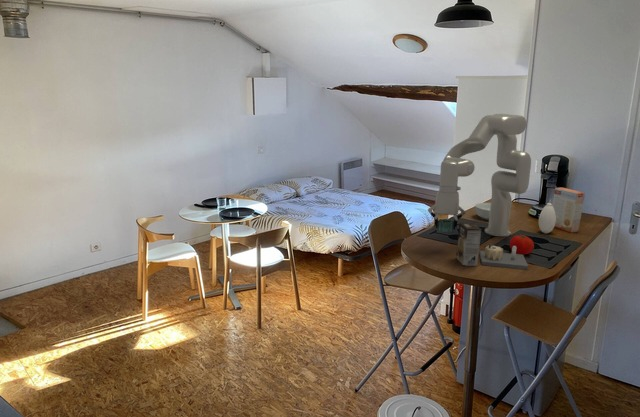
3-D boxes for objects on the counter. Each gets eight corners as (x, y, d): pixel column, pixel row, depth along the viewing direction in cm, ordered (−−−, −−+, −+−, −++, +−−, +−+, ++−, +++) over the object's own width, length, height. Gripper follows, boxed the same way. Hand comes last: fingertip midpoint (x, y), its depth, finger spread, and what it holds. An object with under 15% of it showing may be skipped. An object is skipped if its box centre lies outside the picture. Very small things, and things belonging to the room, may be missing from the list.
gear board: (479, 253, 221) (481, 238, 219) (522, 257, 217) (524, 242, 215) (481, 264, 208) (483, 248, 206) (527, 269, 204) (529, 252, 202)
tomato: (512, 248, 229) (514, 230, 227) (535, 253, 223) (538, 235, 221) (505, 253, 222) (507, 235, 220) (529, 259, 216) (531, 240, 214)
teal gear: (437, 226, 227) (437, 218, 226) (453, 227, 225) (453, 219, 224) (436, 231, 220) (437, 222, 219) (453, 232, 218) (454, 224, 217)
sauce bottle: (537, 234, 251) (542, 199, 247) (536, 229, 259) (541, 196, 254) (554, 235, 249) (560, 201, 245) (552, 231, 256) (557, 197, 252)
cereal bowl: (473, 221, 273) (474, 208, 271) (473, 213, 288) (474, 201, 286) (506, 224, 268) (507, 211, 266) (504, 216, 283) (506, 204, 281)
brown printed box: (455, 258, 215) (458, 222, 211) (470, 258, 216) (473, 222, 212) (462, 265, 207) (466, 228, 202) (477, 265, 207) (481, 228, 203)
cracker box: (579, 232, 257) (585, 192, 251) (570, 233, 254) (576, 193, 249) (557, 224, 269) (563, 186, 264) (549, 225, 267) (554, 187, 262)
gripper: (468, 188, 219) (465, 226, 224) (428, 186, 223) (425, 223, 228) (469, 192, 212) (465, 231, 217) (427, 189, 216) (425, 228, 221)
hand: (445, 227), depth 222 cm, fingers closed on teal gear, 7 cm apart
